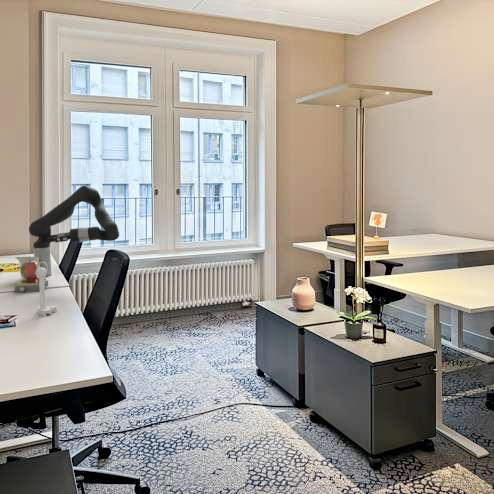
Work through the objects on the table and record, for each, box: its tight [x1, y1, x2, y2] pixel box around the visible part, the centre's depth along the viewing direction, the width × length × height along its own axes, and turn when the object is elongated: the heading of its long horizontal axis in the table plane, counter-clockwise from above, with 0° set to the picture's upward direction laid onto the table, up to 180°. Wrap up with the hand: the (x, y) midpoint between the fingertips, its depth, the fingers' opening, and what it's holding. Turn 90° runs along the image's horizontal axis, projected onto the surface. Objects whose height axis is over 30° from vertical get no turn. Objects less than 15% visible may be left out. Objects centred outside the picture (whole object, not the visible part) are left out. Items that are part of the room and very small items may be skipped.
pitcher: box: [14, 256, 48, 280], centre depth 295 cm, size 11×18×14 cm, turn 93°
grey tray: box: [14, 278, 49, 293], centre depth 270 cm, size 16×14×4 cm
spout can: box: [25, 255, 39, 283], centre depth 271 cm, size 6×6×15 cm
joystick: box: [36, 267, 57, 317], centre depth 221 cm, size 11×8×20 cm
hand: (48, 238), depth 271 cm, fingers open, 8 cm apart
